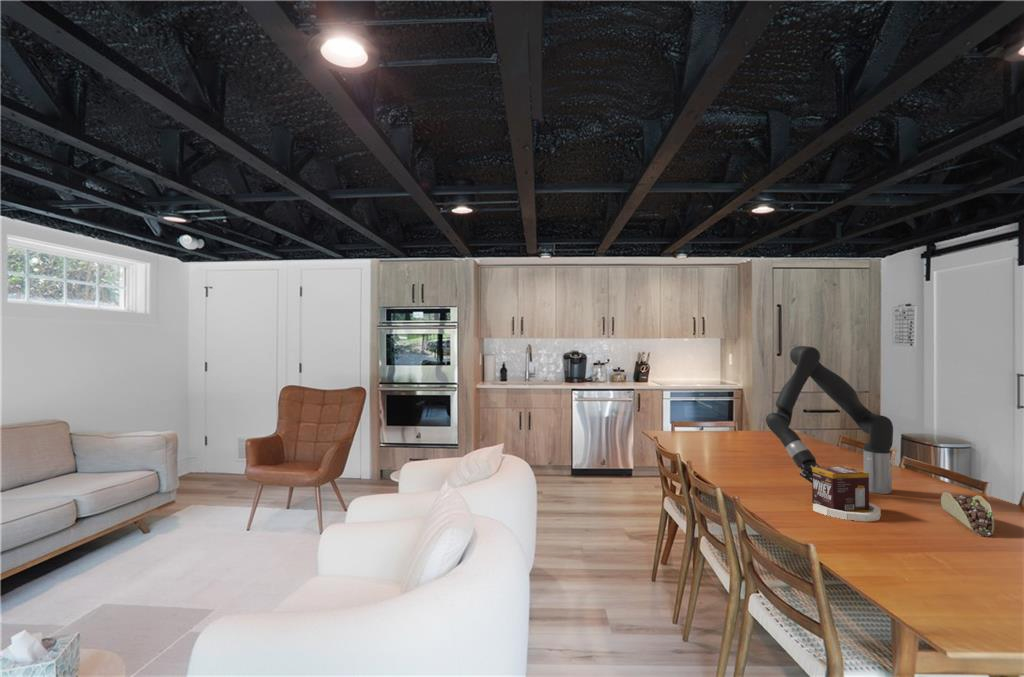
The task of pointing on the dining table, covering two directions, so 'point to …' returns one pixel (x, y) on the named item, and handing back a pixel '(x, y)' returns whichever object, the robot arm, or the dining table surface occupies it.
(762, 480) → the dining table surface
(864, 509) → the supplement box
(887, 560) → the dining table surface
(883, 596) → the dining table surface
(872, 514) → the segmented curved arch
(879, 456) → the robot arm
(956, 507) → the taco
